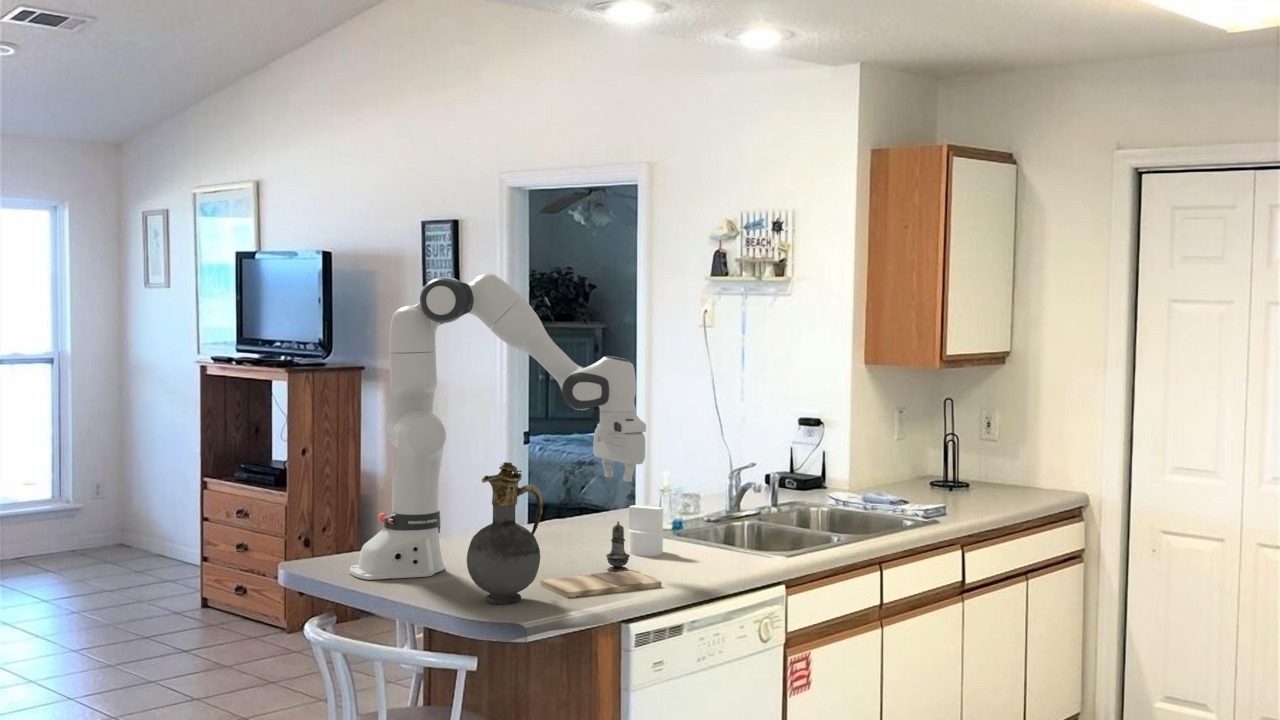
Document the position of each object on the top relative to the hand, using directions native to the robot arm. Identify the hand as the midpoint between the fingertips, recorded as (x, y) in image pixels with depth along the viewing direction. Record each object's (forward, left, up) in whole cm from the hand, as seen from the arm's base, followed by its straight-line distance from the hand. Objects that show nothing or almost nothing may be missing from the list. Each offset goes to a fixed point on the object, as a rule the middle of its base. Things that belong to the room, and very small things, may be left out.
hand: (618, 479), depth 303 cm
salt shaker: (0, 0, -23) cm, 23 cm away
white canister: (+17, +16, -23) cm, 32 cm away
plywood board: (-12, -14, -22) cm, 29 cm away
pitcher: (-36, -17, -22) cm, 46 cm away
